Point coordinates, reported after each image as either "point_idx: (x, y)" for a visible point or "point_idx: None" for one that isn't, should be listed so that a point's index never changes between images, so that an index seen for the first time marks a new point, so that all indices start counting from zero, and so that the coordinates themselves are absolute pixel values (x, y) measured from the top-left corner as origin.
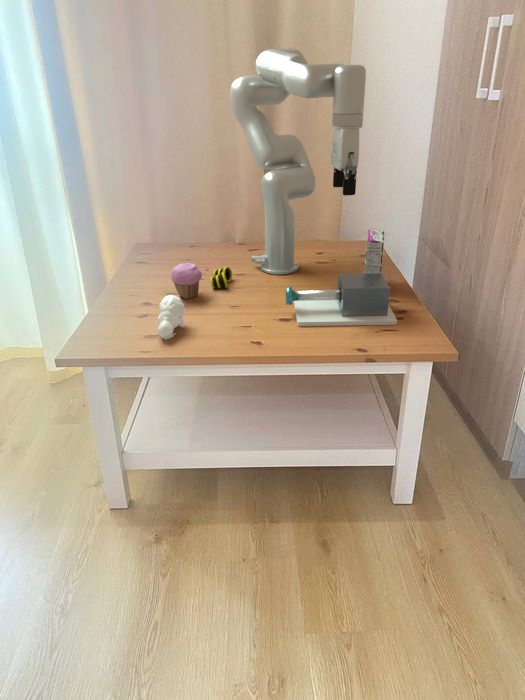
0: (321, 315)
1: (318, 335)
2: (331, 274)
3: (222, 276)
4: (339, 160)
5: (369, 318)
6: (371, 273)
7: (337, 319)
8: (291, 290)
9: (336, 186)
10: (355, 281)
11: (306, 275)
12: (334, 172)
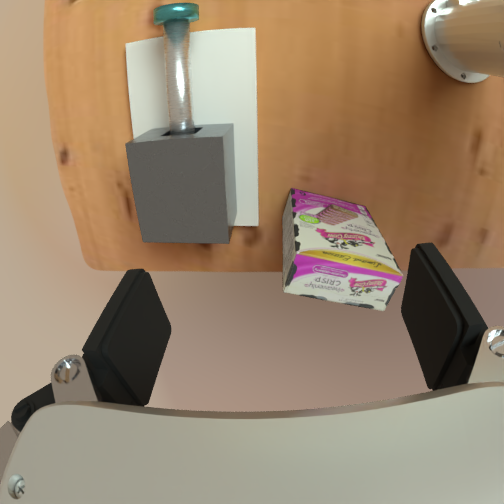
0: (155, 87)
1: (98, 86)
2: (413, 143)
3: None
4: (24, 494)
5: None
6: (287, 222)
7: (139, 119)
8: (158, 17)
9: (410, 265)
10: (171, 174)
11: (415, 84)
12: (465, 327)
